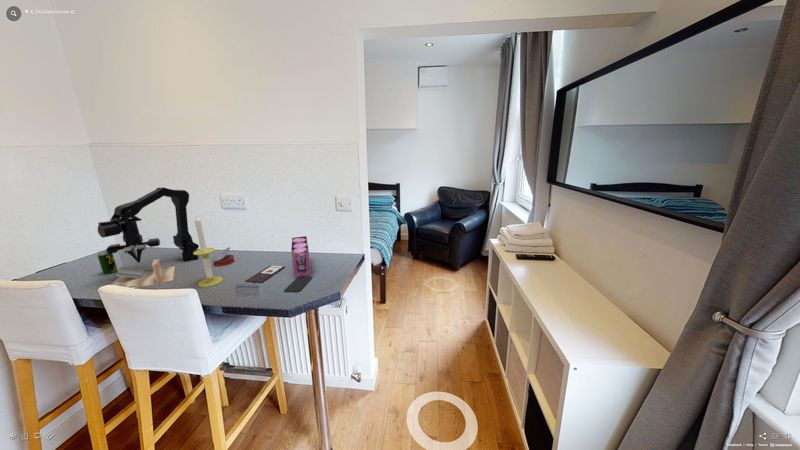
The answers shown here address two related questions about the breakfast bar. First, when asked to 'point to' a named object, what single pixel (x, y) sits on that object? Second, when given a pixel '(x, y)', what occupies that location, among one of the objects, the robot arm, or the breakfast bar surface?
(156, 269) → the terracotta tile
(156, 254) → the breakfast bar surface
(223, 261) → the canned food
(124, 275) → the slate tile
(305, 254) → the gum box
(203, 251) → the candle
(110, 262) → the guarana soda can
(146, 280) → the oak board
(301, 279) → the phone
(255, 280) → the chocolate bar
